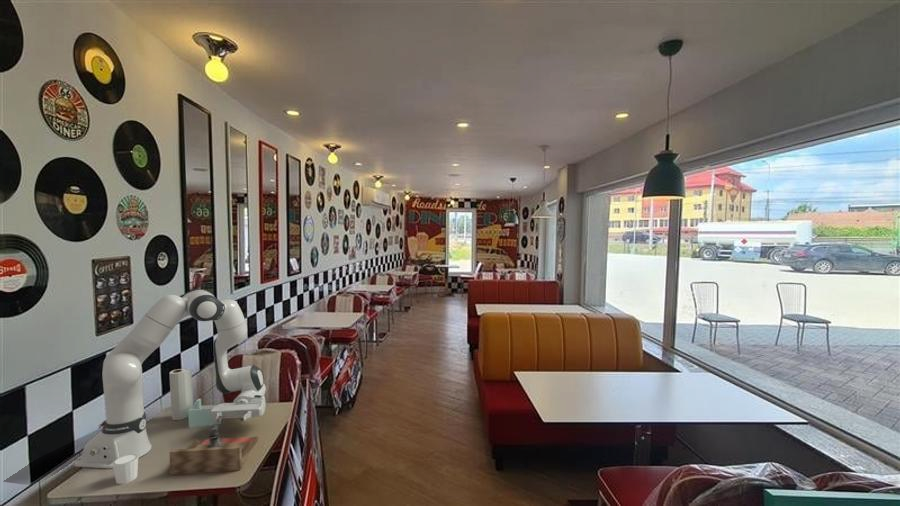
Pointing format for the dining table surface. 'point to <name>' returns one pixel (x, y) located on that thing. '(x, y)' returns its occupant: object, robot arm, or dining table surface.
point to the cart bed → (212, 456)
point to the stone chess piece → (214, 437)
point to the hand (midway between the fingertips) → (230, 419)
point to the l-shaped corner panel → (200, 415)
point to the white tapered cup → (125, 468)
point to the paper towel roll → (181, 393)
